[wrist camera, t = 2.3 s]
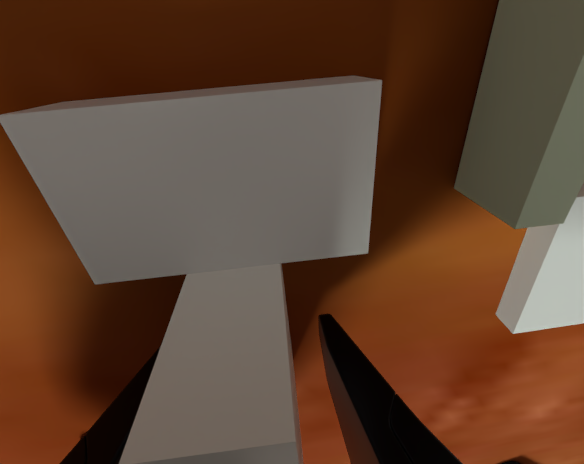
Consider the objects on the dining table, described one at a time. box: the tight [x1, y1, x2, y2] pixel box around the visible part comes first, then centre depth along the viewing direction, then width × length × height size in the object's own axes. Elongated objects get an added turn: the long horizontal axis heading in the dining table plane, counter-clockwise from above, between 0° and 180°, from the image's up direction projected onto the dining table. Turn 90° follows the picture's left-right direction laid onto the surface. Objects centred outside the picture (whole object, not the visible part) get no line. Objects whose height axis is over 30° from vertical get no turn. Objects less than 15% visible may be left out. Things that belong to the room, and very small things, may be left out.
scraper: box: [0, 75, 382, 464], centre depth 7 cm, size 11×7×6 cm, turn 4°
